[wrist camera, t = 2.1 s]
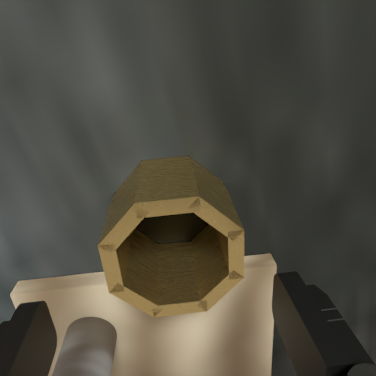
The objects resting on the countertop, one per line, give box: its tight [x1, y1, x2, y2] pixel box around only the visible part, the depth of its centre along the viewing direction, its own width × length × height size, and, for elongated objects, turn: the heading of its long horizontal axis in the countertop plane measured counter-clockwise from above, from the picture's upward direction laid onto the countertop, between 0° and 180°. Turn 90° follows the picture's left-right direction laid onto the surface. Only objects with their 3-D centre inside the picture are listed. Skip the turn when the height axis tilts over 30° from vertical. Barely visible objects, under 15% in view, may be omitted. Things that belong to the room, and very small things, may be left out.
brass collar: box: [98, 156, 244, 317], centre depth 16 cm, size 6×6×5 cm
